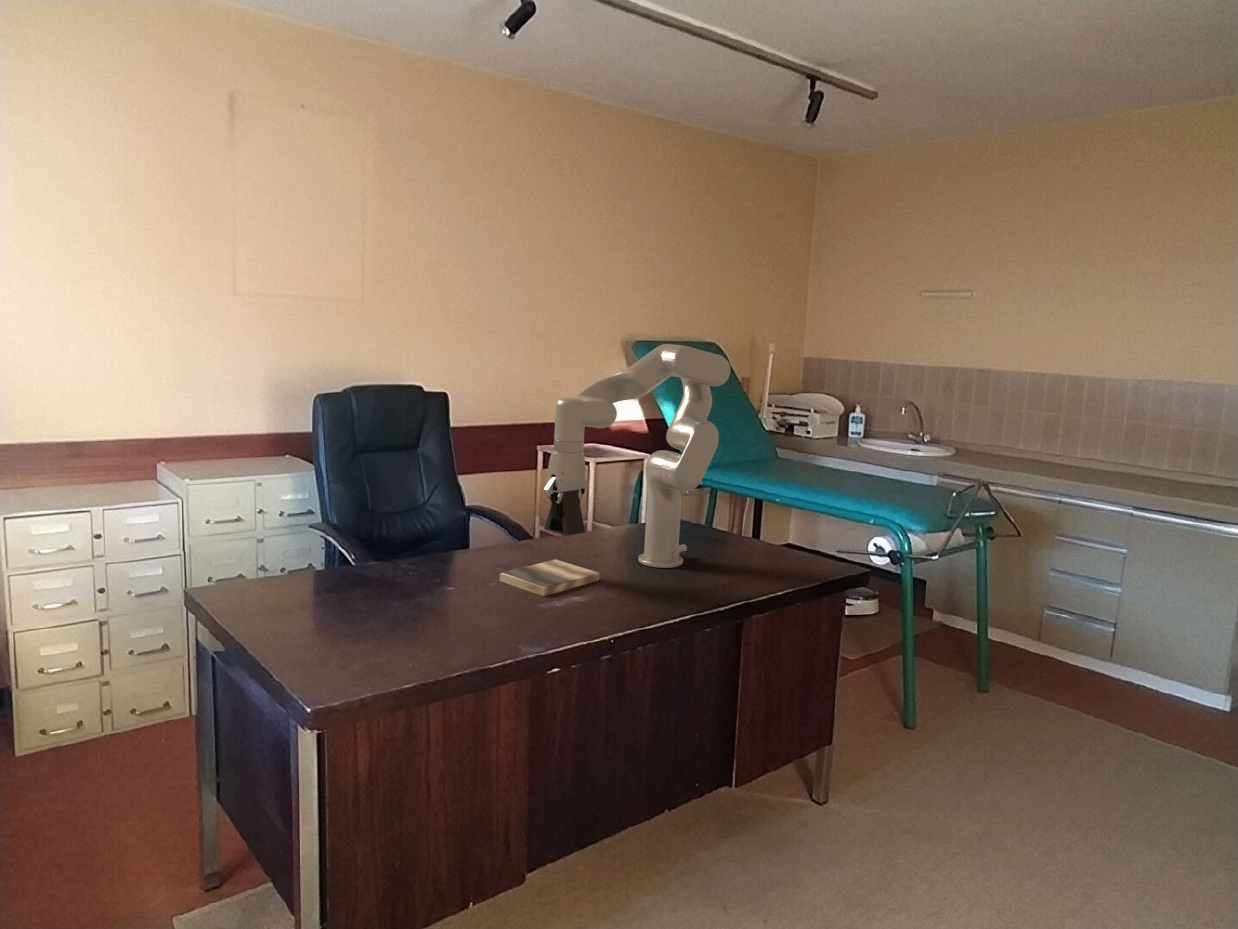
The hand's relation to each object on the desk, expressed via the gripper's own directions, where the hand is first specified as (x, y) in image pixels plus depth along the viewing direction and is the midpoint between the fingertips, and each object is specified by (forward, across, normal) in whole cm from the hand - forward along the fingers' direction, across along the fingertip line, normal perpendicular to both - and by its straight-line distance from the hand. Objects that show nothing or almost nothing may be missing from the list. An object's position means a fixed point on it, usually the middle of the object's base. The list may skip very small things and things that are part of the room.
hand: (565, 515), depth 230 cm
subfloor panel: (+17, +5, 0) cm, 17 cm away
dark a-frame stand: (+4, 0, 0) cm, 4 cm away
